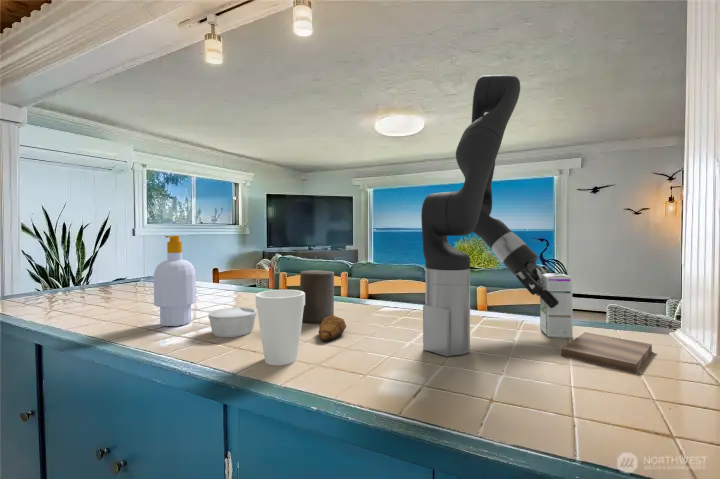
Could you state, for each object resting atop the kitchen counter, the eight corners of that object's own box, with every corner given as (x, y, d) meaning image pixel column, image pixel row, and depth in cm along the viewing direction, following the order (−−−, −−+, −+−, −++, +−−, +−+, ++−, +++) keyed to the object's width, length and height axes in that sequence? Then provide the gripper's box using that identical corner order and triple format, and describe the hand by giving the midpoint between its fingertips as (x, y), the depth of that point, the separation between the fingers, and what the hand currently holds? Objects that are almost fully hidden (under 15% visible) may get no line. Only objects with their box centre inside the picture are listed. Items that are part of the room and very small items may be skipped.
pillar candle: (304, 325, 95) (305, 269, 95) (296, 317, 104) (296, 266, 103) (338, 321, 99) (339, 268, 98) (327, 314, 108) (328, 265, 107)
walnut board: (636, 372, 62) (636, 364, 62) (561, 355, 71) (561, 347, 71) (651, 351, 73) (651, 344, 73) (585, 338, 82) (585, 332, 82)
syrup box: (573, 338, 82) (574, 276, 82) (546, 337, 83) (546, 275, 83) (564, 331, 88) (565, 273, 87) (538, 330, 89) (539, 272, 89)
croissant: (338, 344, 79) (338, 322, 79) (309, 342, 80) (309, 321, 80) (352, 328, 92) (352, 309, 92) (328, 327, 94) (327, 308, 93)
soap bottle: (145, 328, 93) (143, 236, 92) (172, 318, 103) (170, 235, 102) (180, 329, 91) (178, 236, 91) (204, 319, 101) (203, 235, 101)
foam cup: (313, 354, 72) (313, 291, 72) (290, 371, 64) (289, 299, 63) (273, 349, 75) (272, 288, 75) (246, 364, 67) (245, 296, 66)
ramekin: (265, 330, 90) (265, 310, 90) (228, 342, 81) (228, 319, 81) (237, 324, 96) (236, 305, 96) (199, 334, 87) (199, 313, 87)
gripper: (512, 244, 86) (564, 297, 78) (535, 242, 95) (583, 290, 87) (491, 264, 90) (538, 317, 82) (515, 261, 99) (560, 308, 91)
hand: (561, 303), depth 84 cm, fingers closed on syrup box, 8 cm apart
